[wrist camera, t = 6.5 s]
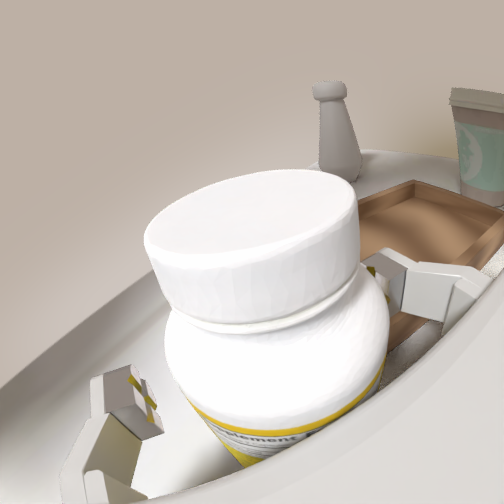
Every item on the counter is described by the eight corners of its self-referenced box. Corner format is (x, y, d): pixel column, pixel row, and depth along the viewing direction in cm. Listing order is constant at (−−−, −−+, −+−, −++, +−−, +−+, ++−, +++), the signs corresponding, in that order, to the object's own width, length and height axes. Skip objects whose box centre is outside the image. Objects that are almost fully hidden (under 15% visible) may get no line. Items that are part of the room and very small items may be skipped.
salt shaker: (346, 170, 39) (333, 81, 33) (372, 178, 34) (360, 78, 28) (312, 179, 38) (296, 85, 31) (337, 189, 33) (321, 80, 27)
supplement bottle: (257, 375, 13) (195, 172, 8) (370, 385, 11) (385, 155, 6) (215, 473, 9) (53, 278, 4) (352, 498, 7) (440, 299, 2)
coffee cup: (451, 181, 29) (447, 87, 23) (509, 191, 24) (510, 96, 18) (448, 204, 24) (445, 86, 18) (519, 218, 19) (525, 98, 13)
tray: (377, 360, 12) (382, 332, 11) (266, 260, 22) (261, 237, 21) (509, 236, 17) (513, 215, 16) (413, 197, 27) (413, 179, 26)
